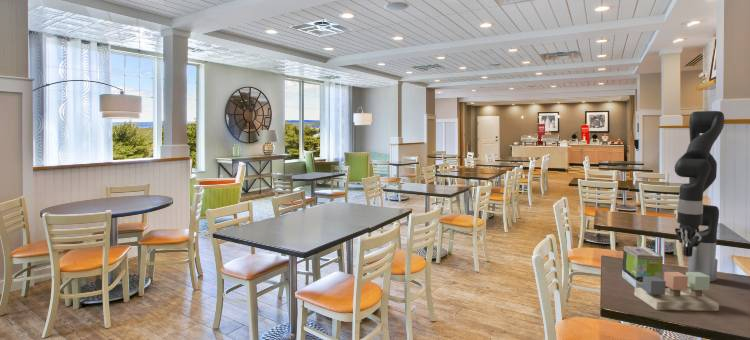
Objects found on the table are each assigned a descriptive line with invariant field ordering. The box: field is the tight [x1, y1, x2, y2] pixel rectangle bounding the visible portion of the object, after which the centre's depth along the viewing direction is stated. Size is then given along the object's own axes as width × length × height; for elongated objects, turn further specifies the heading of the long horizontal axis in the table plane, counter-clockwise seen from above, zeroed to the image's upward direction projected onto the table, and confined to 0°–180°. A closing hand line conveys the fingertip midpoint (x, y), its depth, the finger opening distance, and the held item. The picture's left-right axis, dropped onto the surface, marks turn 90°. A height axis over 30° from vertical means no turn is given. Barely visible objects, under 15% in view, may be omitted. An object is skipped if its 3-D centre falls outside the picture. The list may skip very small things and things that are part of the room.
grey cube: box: [643, 276, 666, 295], centre depth 157 cm, size 5×5×5 cm
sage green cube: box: [685, 271, 711, 291], centre depth 156 cm, size 5×5×5 cm
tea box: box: [621, 245, 664, 289], centre depth 176 cm, size 15×10×15 cm, turn 168°
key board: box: [634, 287, 720, 312], centre depth 157 cm, size 22×14×7 cm, turn 87°
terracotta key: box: [663, 271, 688, 290], centre depth 156 cm, size 5×5×5 cm
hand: (687, 255), depth 156 cm, fingers closed
